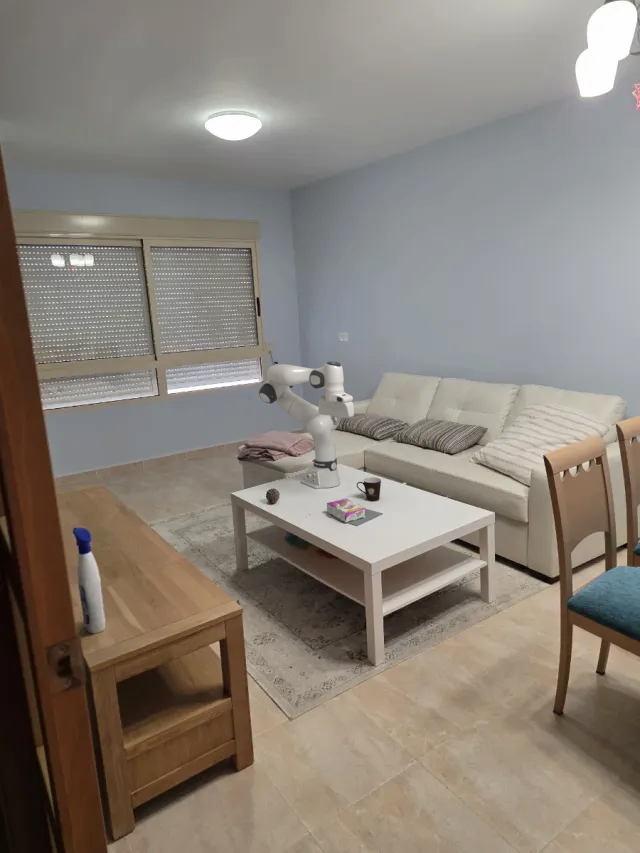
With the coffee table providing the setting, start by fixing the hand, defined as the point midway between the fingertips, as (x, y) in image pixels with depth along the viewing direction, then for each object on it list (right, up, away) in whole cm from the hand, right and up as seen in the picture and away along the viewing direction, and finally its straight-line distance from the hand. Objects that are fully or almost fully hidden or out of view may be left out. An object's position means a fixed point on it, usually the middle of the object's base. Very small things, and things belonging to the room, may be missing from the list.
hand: (336, 425), depth 270 cm
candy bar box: (0, -38, -2) cm, 38 cm away
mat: (+8, -42, -9) cm, 43 cm away
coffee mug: (+17, -37, +12) cm, 43 cm away
